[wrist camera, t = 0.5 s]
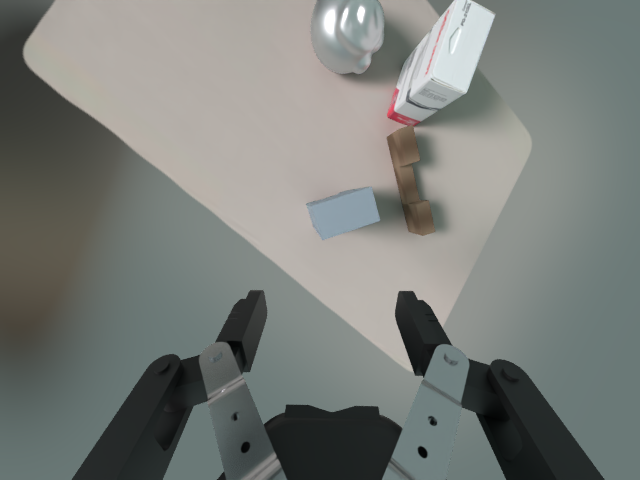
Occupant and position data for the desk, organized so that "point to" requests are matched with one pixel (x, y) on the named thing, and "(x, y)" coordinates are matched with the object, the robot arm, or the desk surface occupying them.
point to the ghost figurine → (347, 33)
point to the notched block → (343, 212)
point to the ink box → (441, 63)
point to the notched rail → (409, 181)
